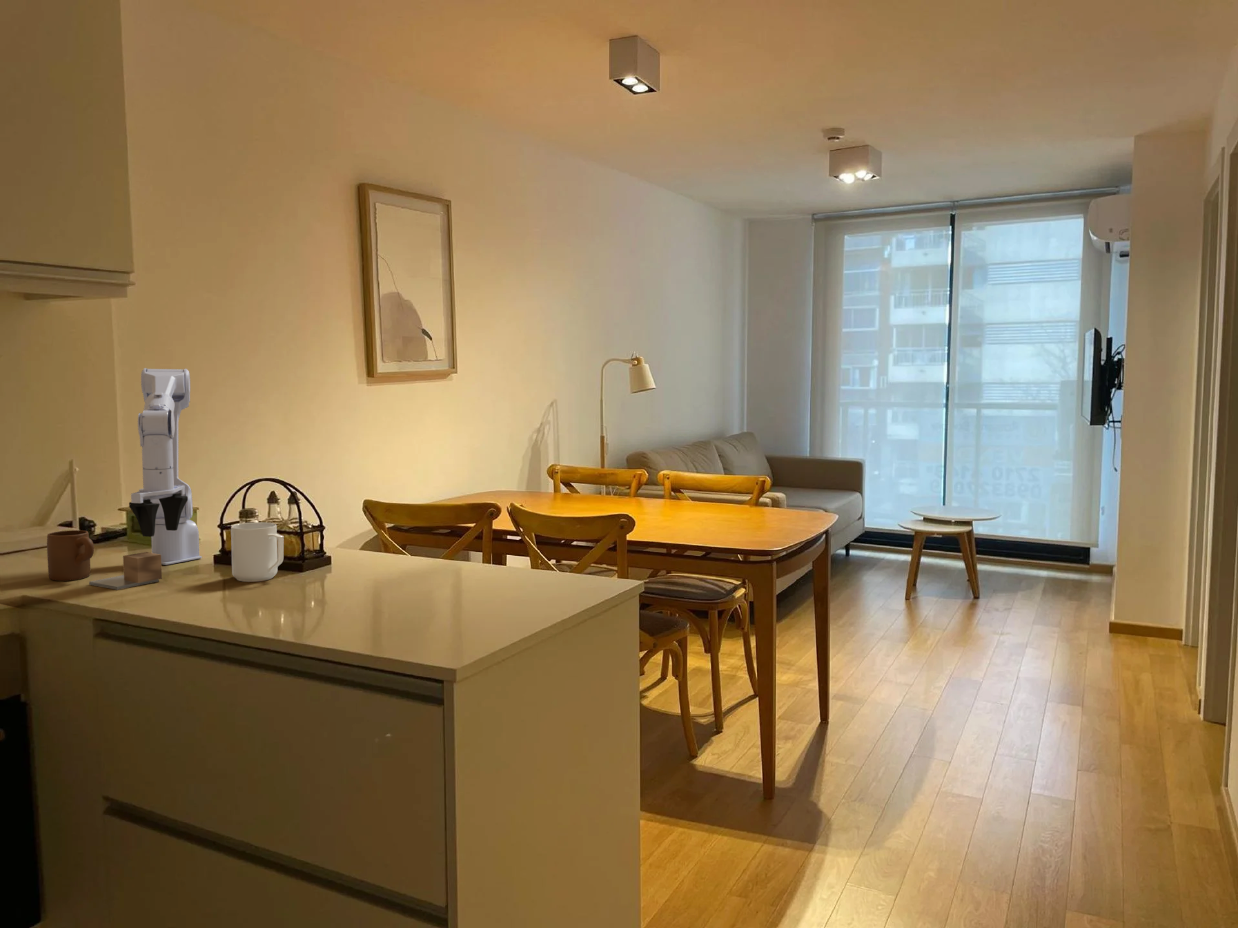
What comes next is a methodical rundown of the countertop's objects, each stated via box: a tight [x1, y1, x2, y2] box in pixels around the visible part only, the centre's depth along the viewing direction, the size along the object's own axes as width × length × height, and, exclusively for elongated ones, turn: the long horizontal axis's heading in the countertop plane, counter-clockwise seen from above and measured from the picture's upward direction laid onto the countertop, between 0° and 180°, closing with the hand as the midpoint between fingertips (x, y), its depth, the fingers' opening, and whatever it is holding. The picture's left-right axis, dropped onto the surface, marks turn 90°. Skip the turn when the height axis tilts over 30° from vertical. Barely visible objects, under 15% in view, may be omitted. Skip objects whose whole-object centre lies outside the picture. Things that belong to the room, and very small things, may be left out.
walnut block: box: [122, 551, 163, 583], centre depth 189 cm, size 5×5×5 cm
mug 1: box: [46, 529, 95, 582], centre depth 191 cm, size 12×8×9 cm, turn 60°
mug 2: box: [230, 521, 285, 583], centre depth 193 cm, size 12×9×11 cm
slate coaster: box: [88, 574, 160, 591], centre depth 188 cm, size 9×9×1 cm
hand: (160, 533), depth 193 cm, fingers open, 7 cm apart
